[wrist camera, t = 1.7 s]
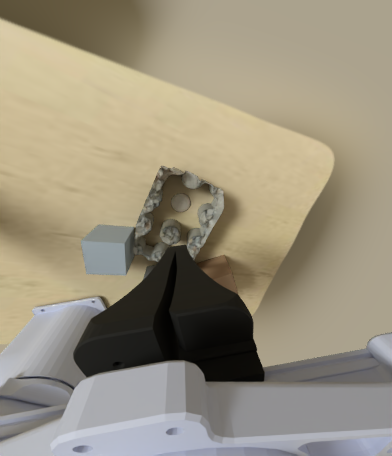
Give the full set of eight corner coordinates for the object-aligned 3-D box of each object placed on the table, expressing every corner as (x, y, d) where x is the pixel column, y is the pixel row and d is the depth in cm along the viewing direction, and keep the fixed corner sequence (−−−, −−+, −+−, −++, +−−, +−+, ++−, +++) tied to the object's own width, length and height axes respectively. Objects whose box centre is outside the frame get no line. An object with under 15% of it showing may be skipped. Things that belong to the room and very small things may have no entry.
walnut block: (204, 283, 25) (208, 306, 21) (196, 263, 23) (199, 283, 20) (230, 275, 25) (238, 296, 21) (223, 254, 23) (232, 273, 19)
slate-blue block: (102, 253, 21) (86, 273, 18) (98, 224, 20) (80, 240, 16) (134, 254, 22) (126, 275, 18) (134, 227, 20) (124, 243, 17)
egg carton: (163, 157, 18) (159, 159, 14) (224, 188, 19) (235, 196, 16) (131, 240, 21) (121, 258, 17) (186, 259, 23) (187, 279, 19)
